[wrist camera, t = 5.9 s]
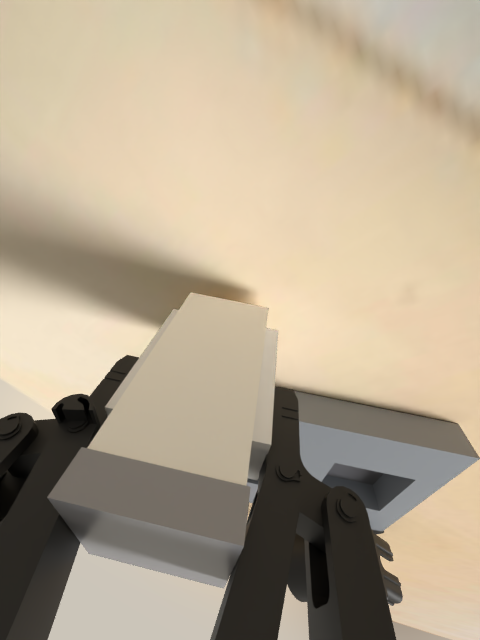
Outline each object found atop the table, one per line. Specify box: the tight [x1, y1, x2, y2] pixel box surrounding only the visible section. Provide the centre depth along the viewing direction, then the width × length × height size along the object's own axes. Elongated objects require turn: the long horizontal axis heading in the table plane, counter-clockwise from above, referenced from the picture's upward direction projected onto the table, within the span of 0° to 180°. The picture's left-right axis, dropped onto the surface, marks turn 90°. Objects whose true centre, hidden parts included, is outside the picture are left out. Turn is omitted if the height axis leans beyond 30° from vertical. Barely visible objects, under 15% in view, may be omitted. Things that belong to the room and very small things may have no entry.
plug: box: [47, 292, 269, 588], centre depth 11 cm, size 5×5×10 cm
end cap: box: [287, 529, 403, 606], centre depth 28 cm, size 10×7×7 cm
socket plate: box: [247, 391, 480, 531], centre depth 22 cm, size 14×20×3 cm
